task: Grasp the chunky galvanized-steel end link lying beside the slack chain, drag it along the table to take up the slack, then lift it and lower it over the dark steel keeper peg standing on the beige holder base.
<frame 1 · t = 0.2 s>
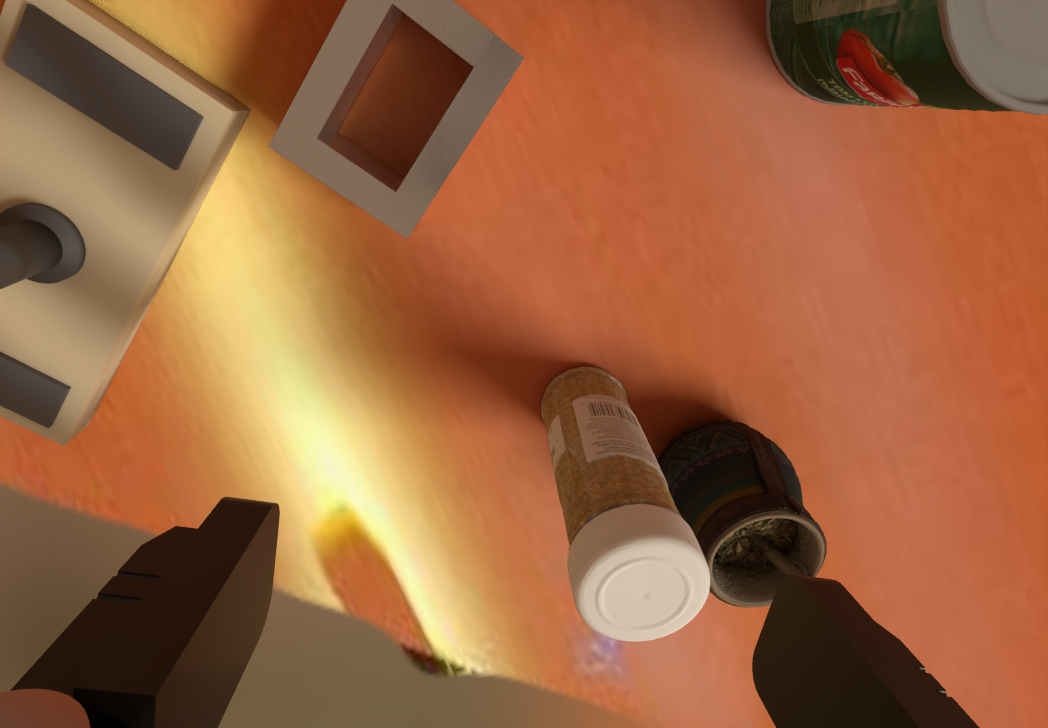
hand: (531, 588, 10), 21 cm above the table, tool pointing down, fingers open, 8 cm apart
beige holder base: (73, 232, 27), on the table
canned tomato: (857, 1, 26), on the table
spice jar: (583, 401, 32), on the table
mate gourd: (707, 459, 34), on the table
link: (405, 101, 26), on the table
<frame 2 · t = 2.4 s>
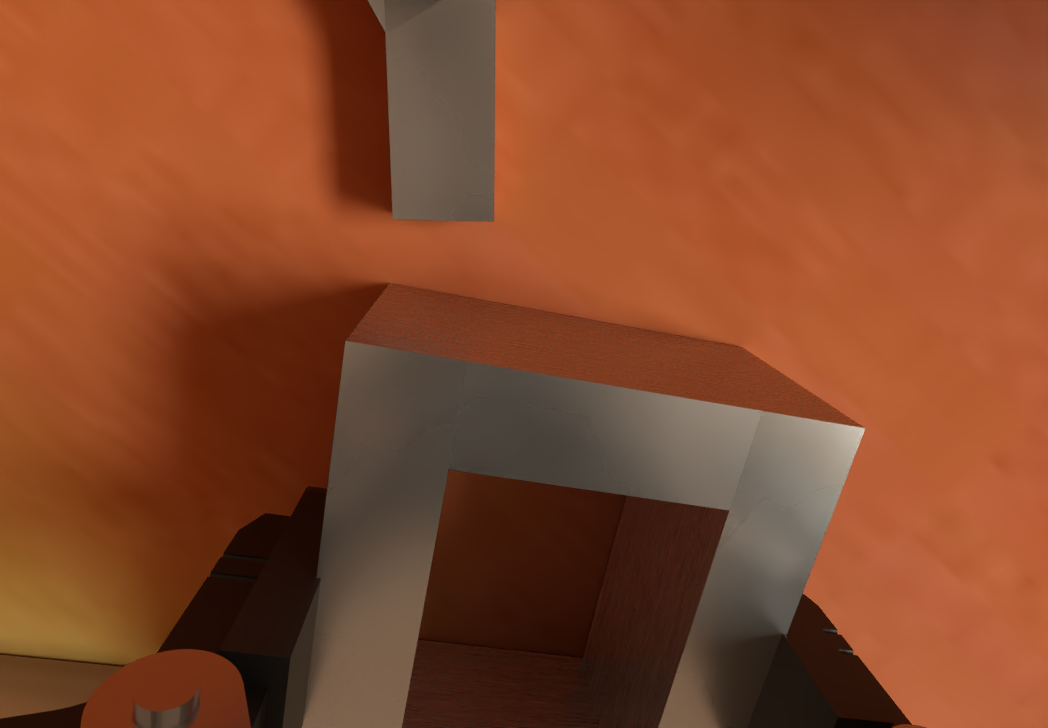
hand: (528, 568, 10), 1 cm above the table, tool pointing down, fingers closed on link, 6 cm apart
link: (525, 527, 11), on the table, touching gripper
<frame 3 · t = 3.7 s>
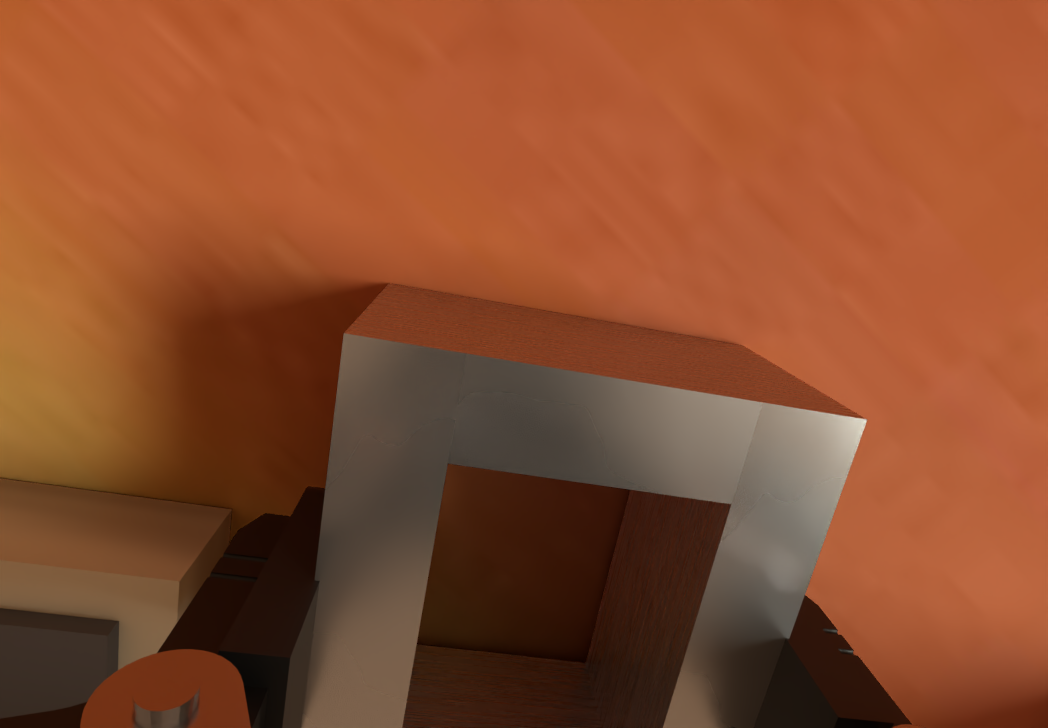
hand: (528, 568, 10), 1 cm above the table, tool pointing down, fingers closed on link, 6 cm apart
link: (526, 529, 11), on the table, touching gripper
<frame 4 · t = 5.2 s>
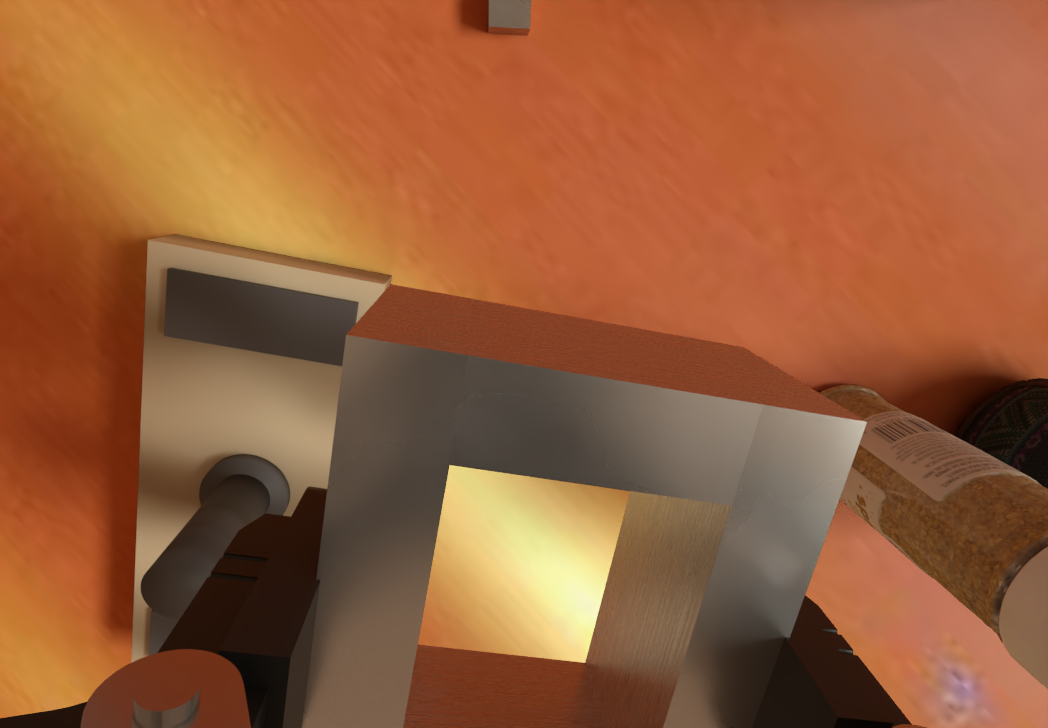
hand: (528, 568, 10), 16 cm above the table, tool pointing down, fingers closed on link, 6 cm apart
beige holder base: (264, 468, 26), on the table
spice jar: (835, 427, 28), on the table
mate gourd: (1002, 435, 28), on the table
link: (526, 530, 11), point 14 cm above the table, touching gripper
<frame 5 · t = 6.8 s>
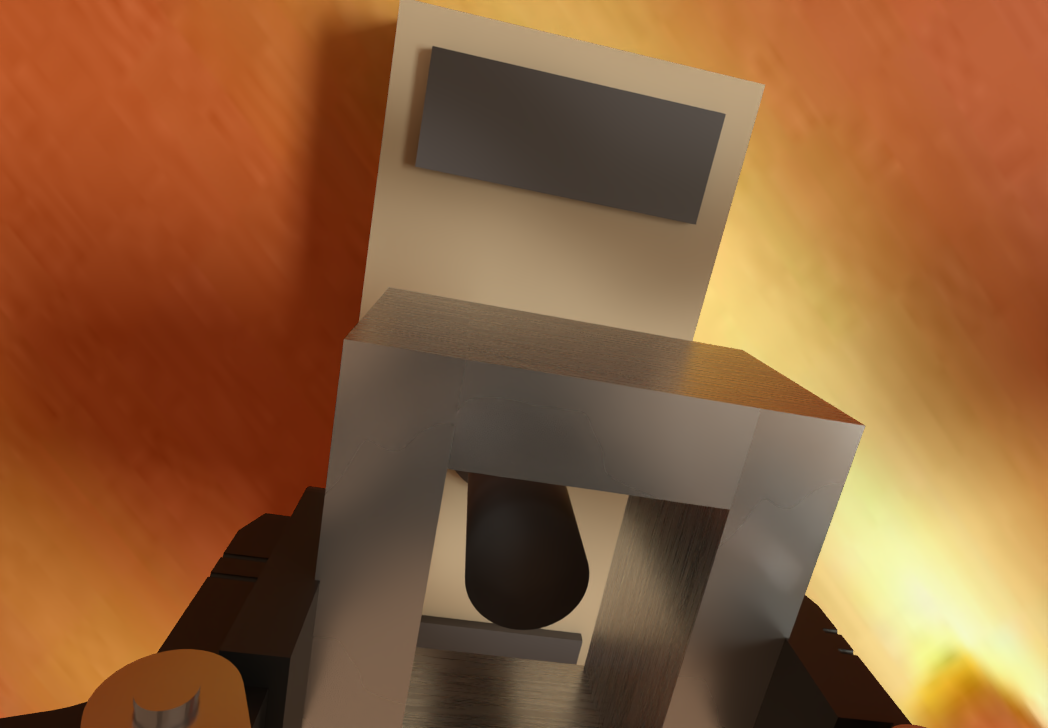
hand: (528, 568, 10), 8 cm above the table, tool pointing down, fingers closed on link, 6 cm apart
beige holder base: (505, 401, 18), on the table
link: (525, 532, 11), point 7 cm above the table, touching gripper
when the fingers open (4 cm above the table, at t = 8.1 s): link stays where it is, resting on beige holder base.
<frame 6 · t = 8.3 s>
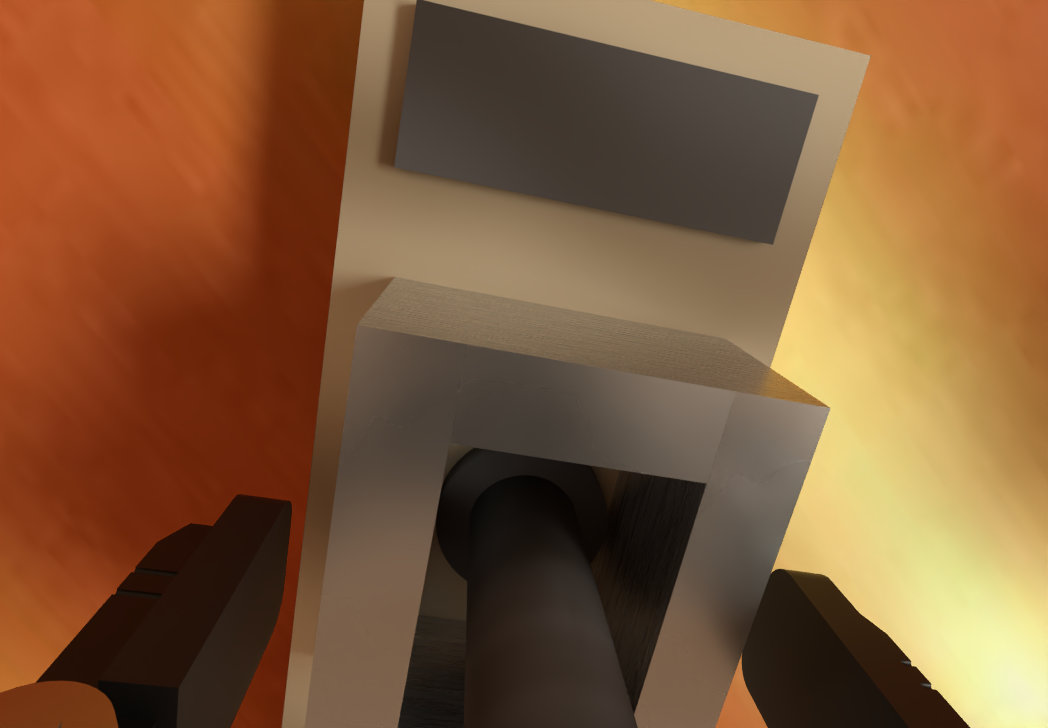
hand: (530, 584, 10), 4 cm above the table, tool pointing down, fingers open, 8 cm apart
beige holder base: (514, 463, 14), on the table
link: (521, 508, 12), point 2 cm above the table, touching beige holder base
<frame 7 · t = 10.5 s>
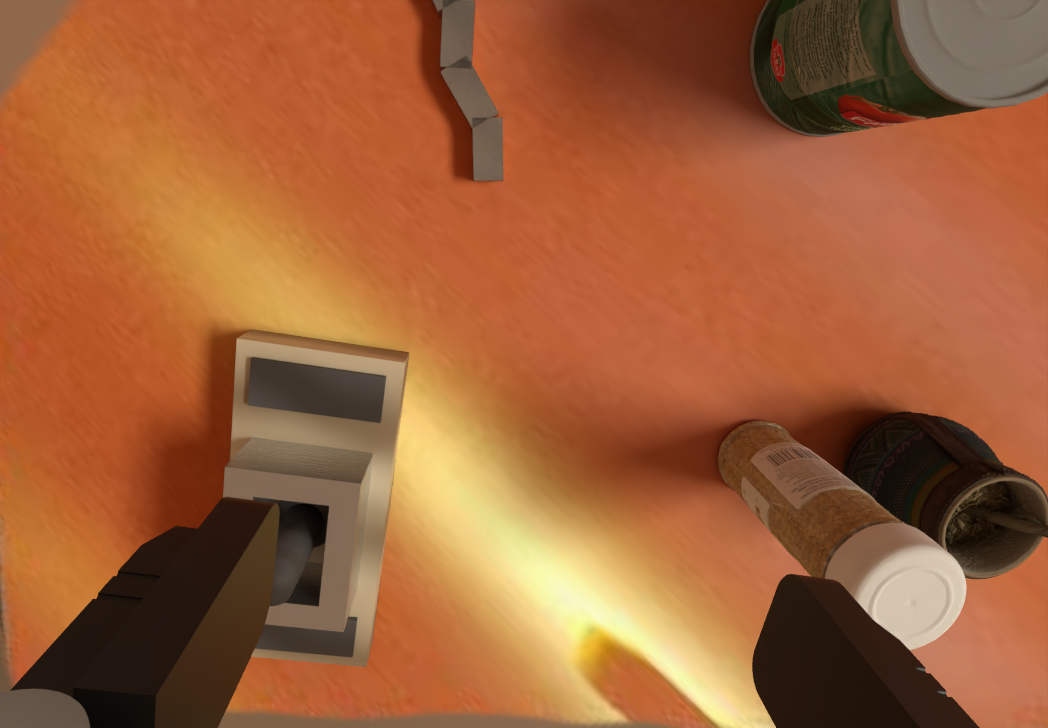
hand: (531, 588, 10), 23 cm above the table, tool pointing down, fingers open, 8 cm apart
beige holder base: (316, 498, 34), on the table
canned tomato: (826, 51, 30), on the table
spice jar: (753, 453, 36), on the table
mate gourd: (886, 455, 36), on the table
link: (306, 515, 32), point 2 cm above the table, touching beige holder base
slack chain: (467, 69, 29), on the table
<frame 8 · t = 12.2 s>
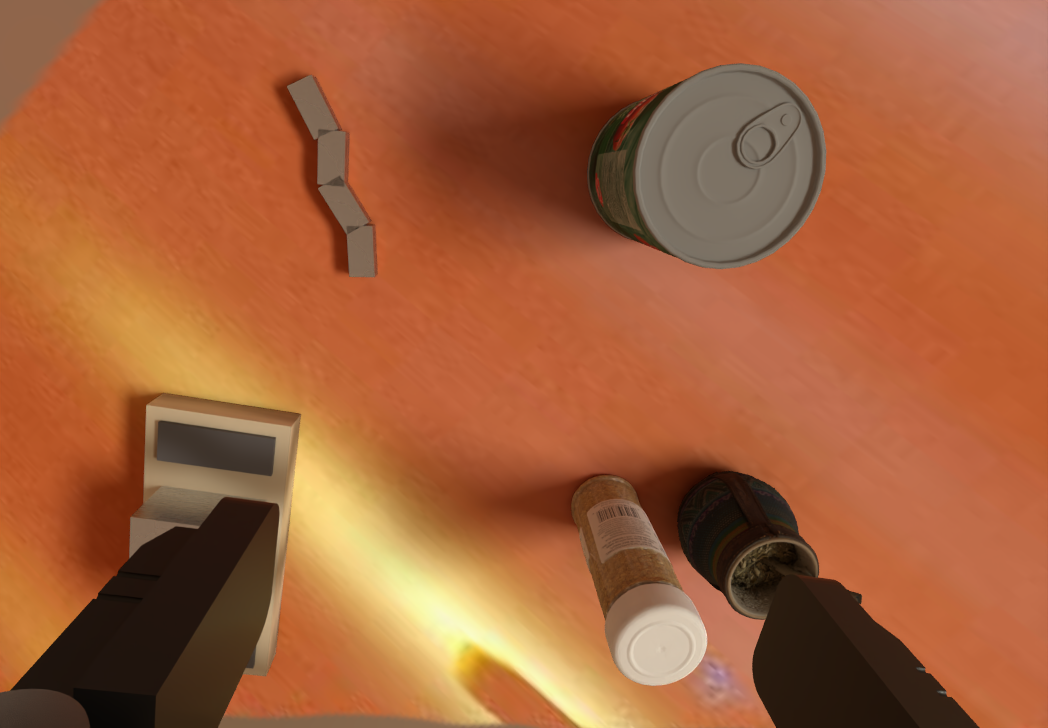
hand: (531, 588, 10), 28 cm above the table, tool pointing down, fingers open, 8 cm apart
beige holder base: (223, 533, 40), on the table
canned tomato: (654, 172, 36), on the table
spice jar: (603, 501, 42), on the table
mate gourd: (720, 504, 42), on the table
link: (210, 550, 38), point 2 cm above the table, touching beige holder base
slack chain: (344, 183, 34), on the table
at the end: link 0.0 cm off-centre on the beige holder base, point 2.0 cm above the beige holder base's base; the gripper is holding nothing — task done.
